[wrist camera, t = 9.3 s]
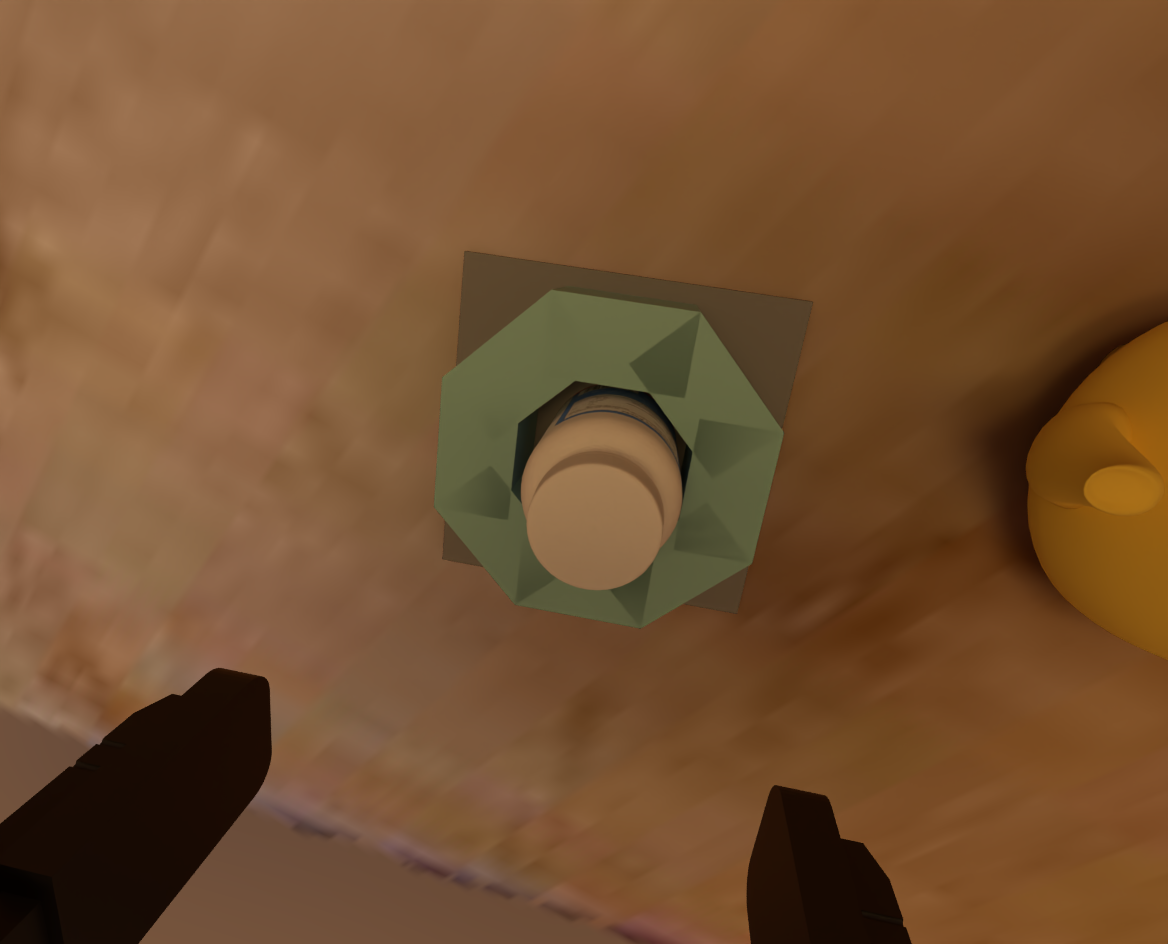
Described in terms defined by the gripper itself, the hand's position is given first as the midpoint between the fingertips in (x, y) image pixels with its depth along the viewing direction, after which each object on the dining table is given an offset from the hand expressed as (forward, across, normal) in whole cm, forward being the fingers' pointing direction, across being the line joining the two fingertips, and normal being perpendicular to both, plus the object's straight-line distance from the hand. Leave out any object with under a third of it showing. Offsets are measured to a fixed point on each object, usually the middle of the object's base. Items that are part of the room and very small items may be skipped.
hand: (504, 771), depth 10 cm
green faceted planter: (+19, 0, 0) cm, 19 cm away
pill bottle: (+19, 0, 0) cm, 19 cm away
